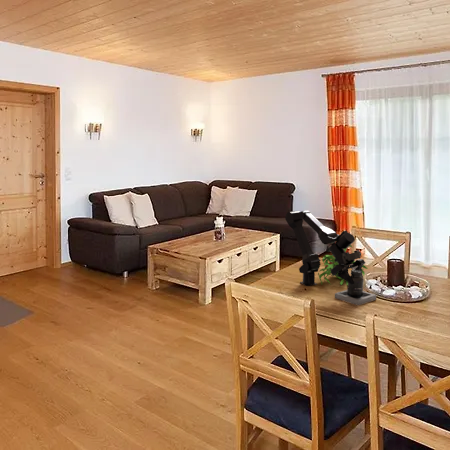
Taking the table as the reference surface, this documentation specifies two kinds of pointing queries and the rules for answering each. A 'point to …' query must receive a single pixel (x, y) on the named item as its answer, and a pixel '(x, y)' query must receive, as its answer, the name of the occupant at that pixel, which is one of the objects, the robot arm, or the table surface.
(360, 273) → the supplement bottle
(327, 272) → the decorative plant
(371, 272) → the table surface
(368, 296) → the tray
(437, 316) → the table surface
